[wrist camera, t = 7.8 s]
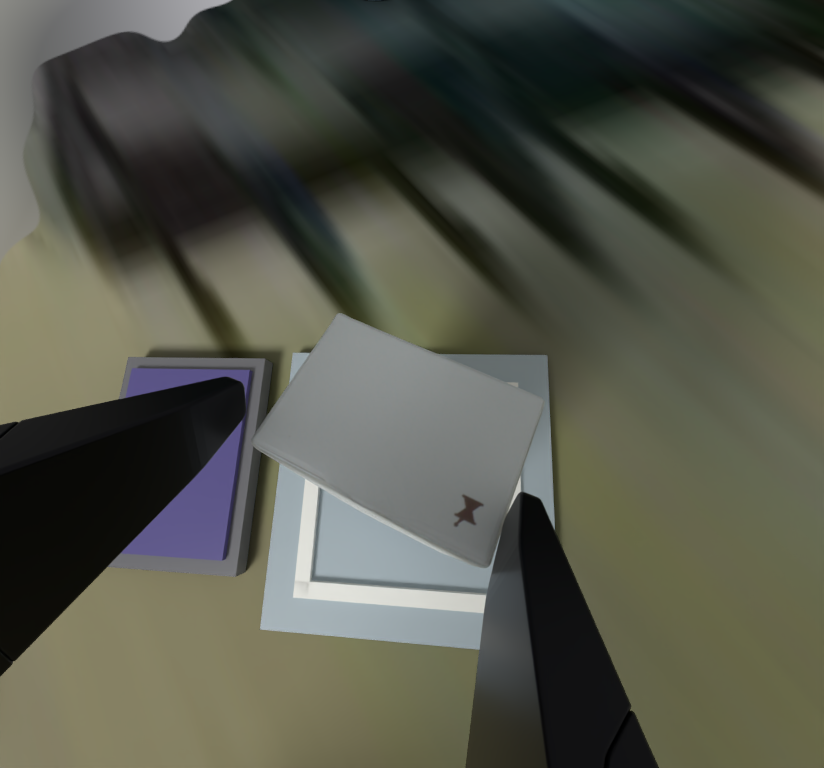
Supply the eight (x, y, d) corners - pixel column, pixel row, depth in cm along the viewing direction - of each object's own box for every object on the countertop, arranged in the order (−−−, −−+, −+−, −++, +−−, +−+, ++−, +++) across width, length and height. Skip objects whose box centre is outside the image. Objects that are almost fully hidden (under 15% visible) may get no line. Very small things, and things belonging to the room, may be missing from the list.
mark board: (556, 651, 18) (562, 660, 17) (265, 624, 20) (257, 631, 19) (544, 358, 22) (548, 353, 21) (296, 355, 23) (290, 351, 22)
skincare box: (474, 475, 20) (557, 399, 9) (441, 554, 18) (492, 581, 7) (374, 427, 21) (336, 304, 10) (335, 498, 19) (239, 447, 8)
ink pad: (245, 571, 20) (232, 578, 19) (98, 560, 21) (76, 566, 20) (272, 363, 23) (262, 356, 22) (141, 361, 24) (124, 355, 23)
